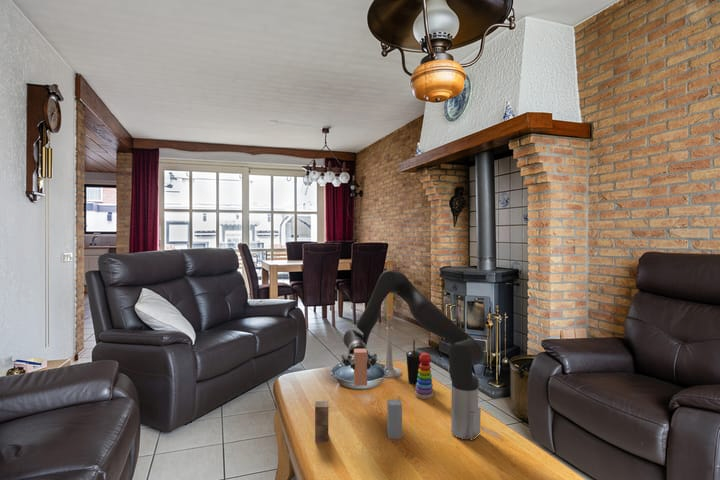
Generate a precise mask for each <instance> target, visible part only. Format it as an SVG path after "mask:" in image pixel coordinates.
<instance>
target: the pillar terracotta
mask: <svg viewBox="0 0 720 480" xmlns="http://www.w3.org/2000/svg"><path fill="white" fill-rule="evenodd" d="M367 351H368V349H367V350H366V349H354V363H355V370H353V384H354V386H355V387H364V386H368V369H367Z"/></svg>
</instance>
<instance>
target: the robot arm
mask: <svg viewBox="0 0 720 480" xmlns="http://www.w3.org/2000/svg"><path fill="white" fill-rule="evenodd" d="M390 293H391V294H396V295H397V296H399V297H400V298H401V299H402V300H403V301H405V303H406V304H407V305H408V309H409V311H410V313H411V315H412V316H413V318H414V319H415V320H416V322H418V323H419V324H420V325H421V327H422V328H424V329H425V330H426V331H428V332H430V333H432V334H433V335H436V336H438V337H440V338H442V339H444V340H446V341H447V342H448V343H449V344H451V346H450V348H449V351H448V367H449V378H450V380H451V408H450V409H451V414H450V416H451V417H450V418H451V424H450V425H451V426H450V427H451V428H450V430H451V432H452V433H451V434H452V435H453V436H454V435H455V436H457V437H459V438H463V439H472V440H473V439H474V438H475V437H476V436H477V435H478V434H479V433H480V434H481V414H482V413H481V408H480V407H479V385H480V382H479V379H478V377H476V376H475V375H473V367H474V366H476V365H478V364H480V363H482V362H483V360H484V355H485V353H484V350H483V347H482V346H481V344H480V343H479V342H478V341H477V340H476V339H475V338H473V337H472V336H471V335H469V333H467V332H465V331H464V330H463V329H462V328H461V327H459V326H458V325H456V323H455V322H454V321H452V320H451V319H450V318H449V317H448V316H447V315H446V314H445V313H444V312H443V311H442V310H441V309H439V308H438V306H436V304H434V303H433V302H432V301H431V300H429V298H427V296H425V295H424V294H423V293H422V292H421V291H420V290H418V288H416V286H414V284H413V283H412V282H411V281H410V279H409V278H408V277H407V275H405V274H404V273H402V272H401V271H396V270H392V269H391V270H390V269H387V270H384V271H383V272H382V273H381V274H380V275H379V278H378V280H377V282H376V284H375V287H374V289H373V291H372V294H371V297H370V299H369V301H368V303H367V305H366V307H365V308H364V310H363V312H362V314H361V315H360V316H359V319H358V320H357V322H356V328H357V329H358V330H359V331H360V332H361V333H360V332H359V331H357V330H355V329H351V328H350V329H348V330H346V331H345V333H344V335H343V343H344V344H343V345H345V346H346V348H347V349H348V351H347V355H345V354H341V359H340V360H341V363H342V364H343V365H344V366H345V367H349V366H350V369H352V370H353V371H354V370H355V363H354V349H366V350H367V370H370V369H371V367H372V366H375V365H376V363H377V361H378V355H377V354H378V353H373V354H372V355H370V353H369V351H368V347H367V345H368V341H369V337H370V334H371V332H372V330H373V329H374V327H375V326H376V323H378V320H379V318H380V315H381V311H382V305H383V302H384V300H385V298H386V297H387V296H388V295H389V294H390ZM455 436H454V437H455ZM457 437H456V438H457ZM459 438H458V439H459ZM463 439H462V440H463ZM473 441H474V440H473Z"/></svg>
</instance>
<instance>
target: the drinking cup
mask: <svg viewBox="0 0 720 480" xmlns="http://www.w3.org/2000/svg"><path fill="white" fill-rule="evenodd" d="M412 344H413V345H412V346H413V347H412V348H413V350H410V351H407V352H406V353H405V355H406V367H407V368H406V369H407V376H408V377H407V379H408V380H407V381H408V384H411V385H416V384H417V378H418V373H419V372H418V370H419V365H420V364H421V362H420V360H419V357H420V355H421V354H422V352H420V351H417V350H416V340H413V342H412Z"/></svg>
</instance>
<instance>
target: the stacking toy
mask: <svg viewBox="0 0 720 480" xmlns="http://www.w3.org/2000/svg"><path fill="white" fill-rule="evenodd" d="M421 353H422V352H421ZM419 360H420V362H421V364H420V365H419V370H418V372H419V373H418V378H417V384H415V385H416V386H415V392H414V396H415V397H416V398H418V399H422V400H430V399H432V398H434V392H433V391H434V388H433V379H432V369H431V368H432V365H431V364H430V363H431V361H432V356H431V355H430V354H429V353H428V352H423V353H422V354H421V355H420V357H419Z"/></svg>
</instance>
